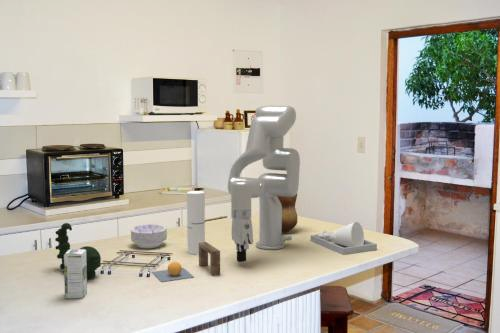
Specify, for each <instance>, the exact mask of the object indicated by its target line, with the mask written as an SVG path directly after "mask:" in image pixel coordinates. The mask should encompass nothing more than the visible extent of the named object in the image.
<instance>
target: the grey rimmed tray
mask: <svg viewBox="0 0 500 333" xmlns="http://www.w3.org/2000/svg"><path fill="white" fill-rule="evenodd" d="M330 233H331V234H332V233H333V232H330ZM321 234H322V233H318V234H311V235H310V240H309V241H310V242H313V243H314V244H317V245H320V246H322V247H324V248H327V249H330V250H332V251H333V252H336V253H339V254H340V255H342V256H343V255H350V254H356V253H363V252H371V251H377V250H378V243H375V242H372V241H369V240H367V239H364V244H363V245H361V246H353V247H346V246H345V247H343V246H342V245H341V246H340V245H338V244H336V243H334V242H328V241H326V240H324V237H318V235H321ZM328 234H329V232H328Z"/></svg>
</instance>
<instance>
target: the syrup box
mask: <svg viewBox="0 0 500 333" xmlns="http://www.w3.org/2000/svg"><path fill="white" fill-rule="evenodd" d="M63 271H64V272H63V273H64V274H63V275H64V276H63V278H64V299H67V300H68V299H84V297H85V295H87V292H88V286H87V285H88V279H87V263H86V250H84V249H80V248H70V250H68V251H67V252H66V253H65V254H64V269H63Z"/></svg>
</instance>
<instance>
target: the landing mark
mask: <svg viewBox="0 0 500 333" xmlns="http://www.w3.org/2000/svg"><path fill="white" fill-rule="evenodd" d="M151 274H153V275H154V277H155V278H157V280H158V281H160V283H166V282H172V281H179V280H186V279H192V278H193V279H194V278H195V276H194V275H193V274H192V273H190V272H189V271H188V269H186V268H184V267H182V270H181V273H180V274H179V275H177V276H172V275H170V274H169V272H168V269H164V270H156V271H151Z"/></svg>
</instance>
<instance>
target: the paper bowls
mask: <svg viewBox="0 0 500 333" xmlns="http://www.w3.org/2000/svg"><path fill="white" fill-rule="evenodd" d="M167 229H168V228H167V226H165V225H162V224H156V223H155V224H153V223H152V224H151V223H150V224H140V225H136V226H133V227H131V229H130V240H131V242H132V243H135V245H136V246H137V247H138V248H141V249H149V250H150V249H155V248H158V247H160V246H162V244H163V242H165V241H166V240H167V237H168V232H167V231H168V230H167Z"/></svg>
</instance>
